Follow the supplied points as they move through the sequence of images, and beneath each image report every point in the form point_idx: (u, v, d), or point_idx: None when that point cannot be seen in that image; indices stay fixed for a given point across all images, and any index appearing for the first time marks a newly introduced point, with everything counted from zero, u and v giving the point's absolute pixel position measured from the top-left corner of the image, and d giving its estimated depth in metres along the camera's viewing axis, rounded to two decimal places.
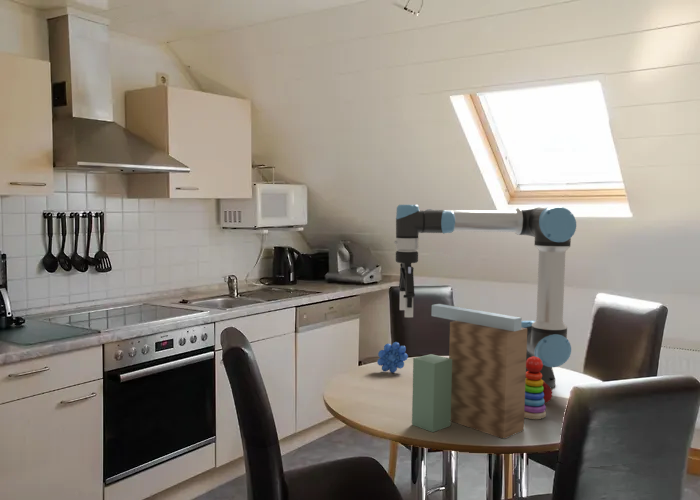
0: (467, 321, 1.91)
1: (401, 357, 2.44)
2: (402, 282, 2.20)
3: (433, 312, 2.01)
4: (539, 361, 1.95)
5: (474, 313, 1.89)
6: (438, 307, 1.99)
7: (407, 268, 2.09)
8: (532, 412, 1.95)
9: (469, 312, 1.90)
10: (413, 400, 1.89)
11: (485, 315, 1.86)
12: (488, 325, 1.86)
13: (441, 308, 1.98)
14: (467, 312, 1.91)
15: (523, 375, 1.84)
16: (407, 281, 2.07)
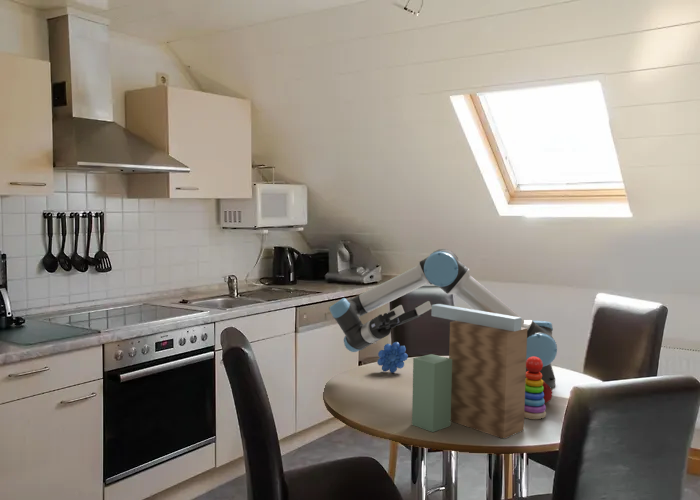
0: (467, 321, 1.91)
1: (401, 357, 2.44)
2: (407, 318, 2.22)
3: (433, 312, 2.01)
4: (539, 361, 1.95)
5: (474, 313, 1.89)
6: (438, 307, 1.99)
7: (372, 328, 2.18)
8: (532, 412, 1.95)
9: (469, 312, 1.90)
10: (413, 400, 1.89)
11: (485, 315, 1.86)
12: (488, 325, 1.86)
13: (441, 308, 1.98)
14: (467, 312, 1.91)
15: (523, 375, 1.84)
16: (377, 324, 2.14)
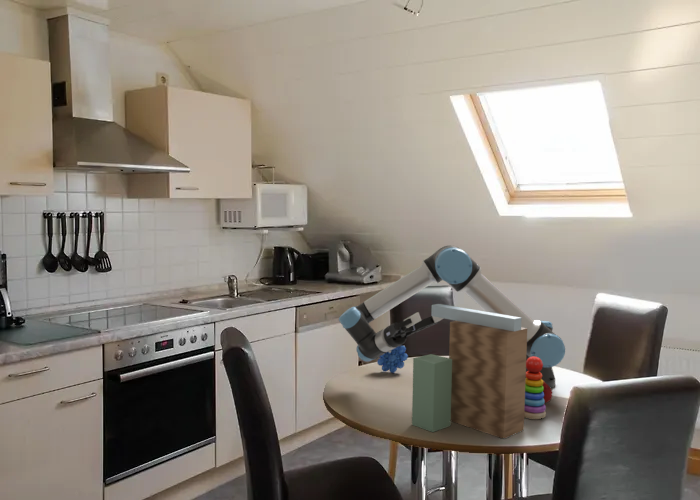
0: (467, 321, 1.91)
1: (401, 357, 2.44)
2: (423, 325, 2.12)
3: (433, 312, 2.01)
4: (539, 361, 1.95)
5: (474, 313, 1.89)
6: (438, 307, 1.99)
7: (387, 336, 2.08)
8: (532, 412, 1.95)
9: (469, 312, 1.90)
10: (413, 400, 1.89)
11: (485, 315, 1.86)
12: (488, 325, 1.86)
13: (441, 308, 1.98)
14: (467, 312, 1.91)
15: (523, 375, 1.84)
16: (392, 333, 2.04)
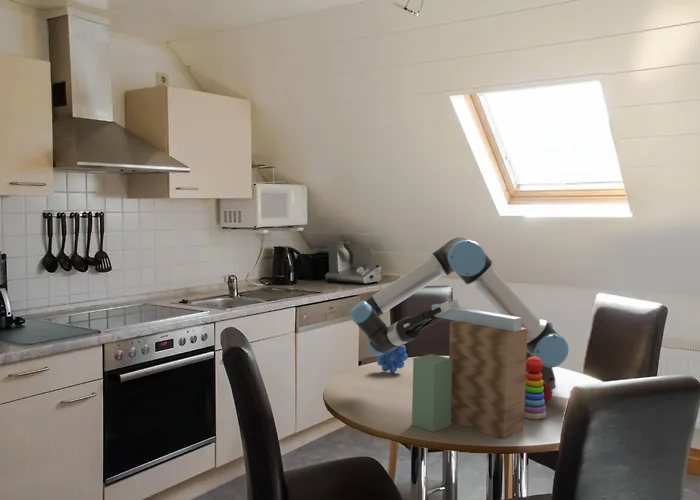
0: (467, 321, 1.91)
1: (401, 357, 2.44)
2: (433, 319, 2.05)
3: None
4: (539, 361, 1.95)
5: (474, 313, 1.89)
6: None
7: (405, 327, 2.03)
8: (532, 412, 1.95)
9: (469, 312, 1.90)
10: (413, 400, 1.89)
11: (485, 315, 1.86)
12: (488, 325, 1.86)
13: None
14: (467, 312, 1.91)
15: (523, 375, 1.84)
16: (416, 323, 2.01)
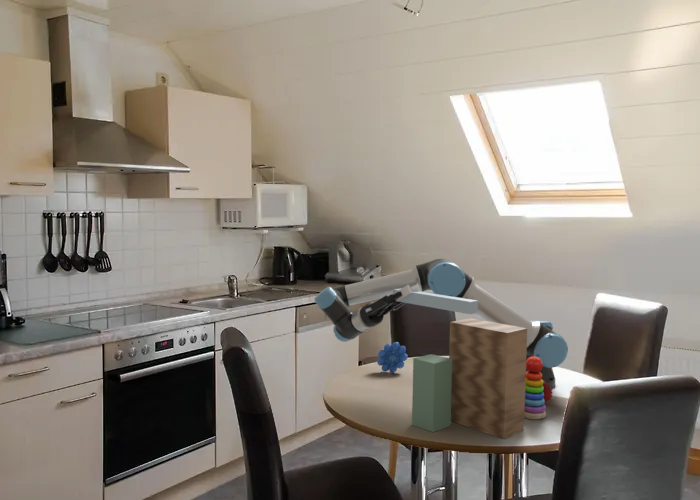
0: (426, 305, 1.91)
1: (401, 357, 2.44)
2: (396, 304, 2.05)
3: None
4: (539, 361, 1.95)
5: (433, 297, 1.89)
6: None
7: (367, 312, 2.03)
8: (532, 412, 1.95)
9: (428, 296, 1.90)
10: (413, 400, 1.89)
11: (443, 298, 1.86)
12: (446, 308, 1.85)
13: None
14: (426, 296, 1.91)
15: (523, 375, 1.84)
16: (377, 307, 2.01)
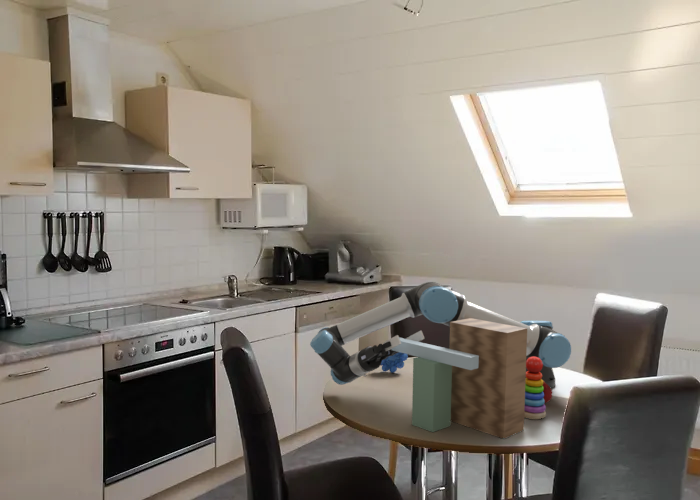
0: (425, 357, 1.88)
1: (401, 357, 2.44)
2: None
3: None
4: (539, 361, 1.95)
5: (432, 349, 1.85)
6: None
7: (362, 360, 2.00)
8: (532, 412, 1.95)
9: (427, 348, 1.87)
10: (413, 400, 1.89)
11: (443, 352, 1.83)
12: (446, 362, 1.82)
13: (401, 343, 1.95)
14: (425, 348, 1.87)
15: (523, 375, 1.84)
16: (369, 356, 1.97)
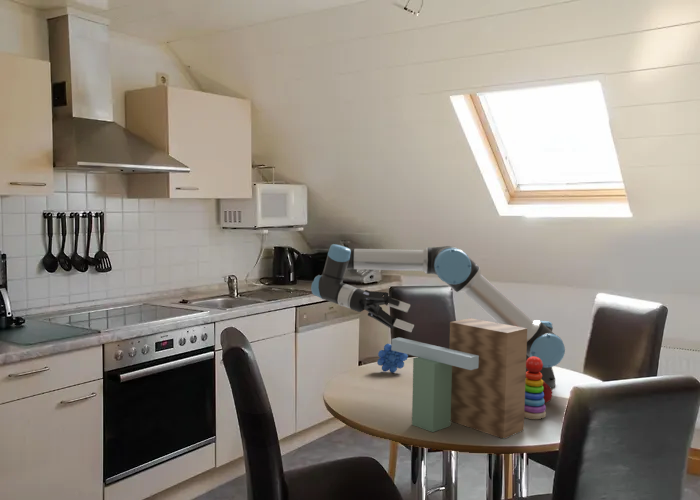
0: (425, 357, 1.88)
1: (401, 357, 2.44)
2: (384, 317, 2.18)
3: (393, 346, 1.97)
4: (539, 361, 1.95)
5: (432, 349, 1.85)
6: (398, 341, 1.96)
7: (363, 294, 2.11)
8: (532, 412, 1.95)
9: (427, 348, 1.87)
10: (413, 400, 1.89)
11: (443, 352, 1.83)
12: (446, 362, 1.82)
13: (401, 343, 1.95)
14: (425, 348, 1.87)
15: (523, 375, 1.84)
16: (373, 296, 2.08)
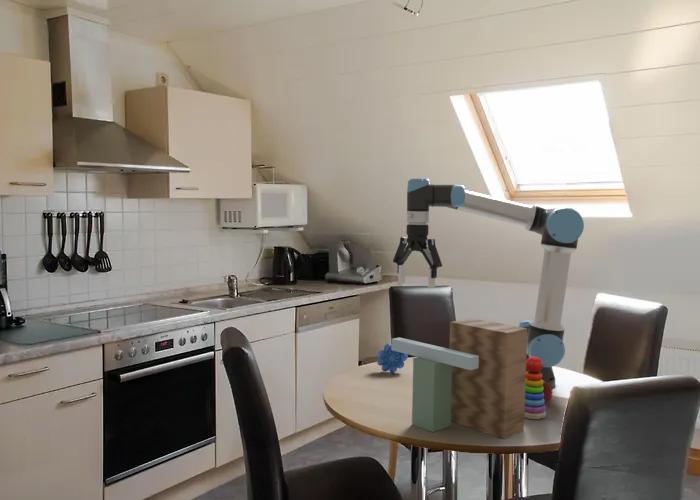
0: (425, 357, 1.88)
1: (401, 357, 2.44)
2: (405, 255, 2.23)
3: (393, 346, 1.97)
4: (539, 361, 1.95)
5: (432, 349, 1.85)
6: (398, 341, 1.96)
7: (431, 240, 2.15)
8: (532, 412, 1.95)
9: (427, 348, 1.87)
10: (413, 400, 1.89)
11: (443, 352, 1.83)
12: (446, 362, 1.82)
13: (401, 343, 1.95)
14: (425, 348, 1.87)
15: (523, 375, 1.84)
16: (433, 252, 2.14)
